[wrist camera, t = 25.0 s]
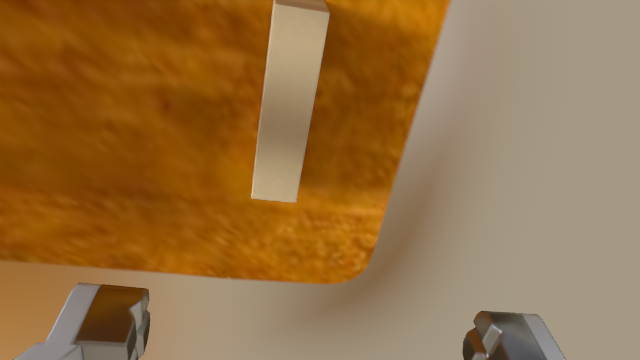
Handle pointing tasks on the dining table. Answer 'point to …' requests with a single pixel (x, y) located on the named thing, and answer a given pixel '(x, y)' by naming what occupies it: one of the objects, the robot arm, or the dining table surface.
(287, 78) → the beige rectangular block
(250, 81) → the dining table surface
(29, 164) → the dining table surface
